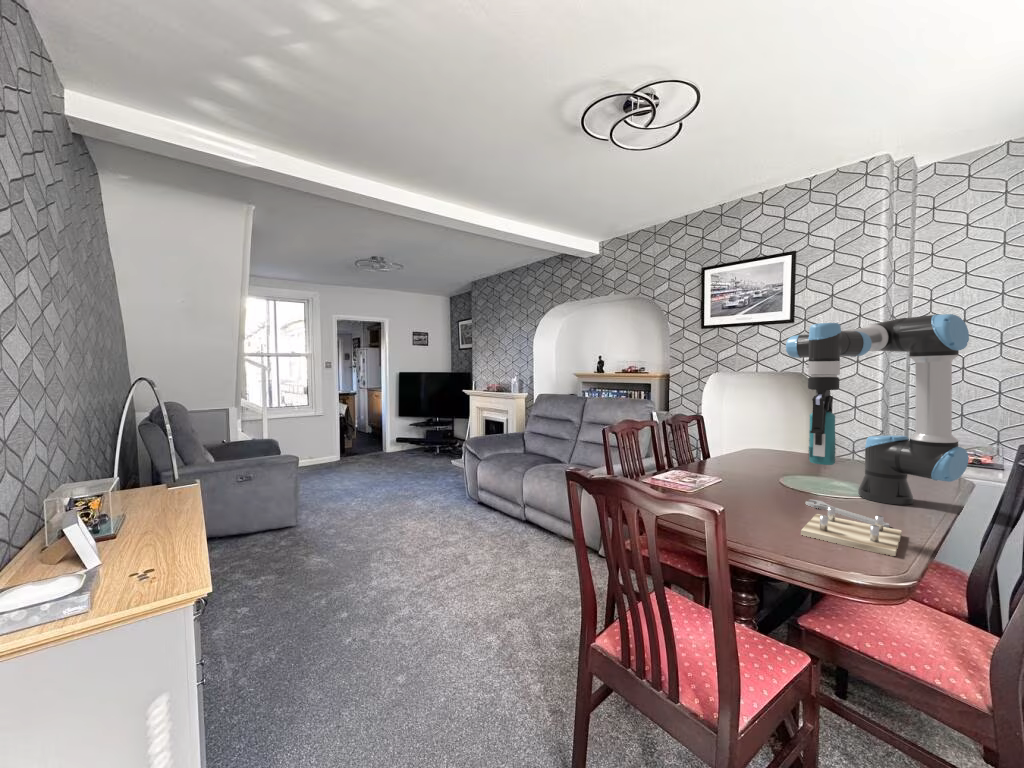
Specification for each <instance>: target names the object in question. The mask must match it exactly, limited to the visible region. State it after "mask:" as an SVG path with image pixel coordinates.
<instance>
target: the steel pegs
mask: <svg viewBox="0 0 1024 768" xmlns="http://www.w3.org/2000/svg"><path fill="white" fill-rule="evenodd" d="M834 507H835V506H833V507H828V511H827V515H825V514H820V530H821V531H828V521H831V522H835V517H836V513H835V508H836V507H835V508H834ZM874 517H875V518H874V519H875V525H872V524H871V525H870V541H872V542H876V543H878V542H879V531H880V532H883V522H885V521H884V519H885V518H884V516H883V515H879V514H877V515H875V516H874Z"/></svg>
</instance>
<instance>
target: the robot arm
mask: <svg viewBox="0 0 1024 768" xmlns="http://www.w3.org/2000/svg"><path fill="white" fill-rule="evenodd" d="M968 328H969V327H968V326H967V324H966V323H965V321H964V320H963V319H962V318H961V317H960V316H958V315H956V314H953V313H948V314H947V313H945V314H930V315H922V316H911V317H902V318H901V317H900V318H896V319H891V320H886V321H883V322H877V323H870V324H867V325H865V326H863V327H860V328H851V329H843V330H842V328H841V324H840V323H838V322H820V323H815V324H811V325H810V326H809V330H808V331H809V333H808V334H798V335H792V336H790V337H789V338H787V340H786V342H785V352H786V353H787V355H788V356H790V357H791V358H797V359H798V358H799V359H804V358H806V359H807V358H808V364H807V365H806V366H805V367H806V369H807V370H808V375H809V377H808V378H807V389H808V390H812V391H814V390H815V391H816V392H815V395H814V396H813V397H812V398H811V400H812V412H813V414H812V431H810V433H814V437H813V456H821V457H825V434H824V433H825V431H824V430H825V416H826V412H831V413H833V403H834V402H833V401H834V395H831V391H838V390H840V378H839V377H838V376H840V374H841V357H851V358H852V357H854V358H856V357H861V356H864V355H866V354H867V353H868V352H895V353H896V352H897V353H898V352H899V353H905V352H909V353H908V357H909V358H910V359H911V360H912V361H914V363H915V375H914V376H915V432H914V434H912V435H910V436H907V435H899V434H898V435H897V434H896V435H895V434H894V435H892V434H891V435H871V436H868V437H867V438H866V440H865V446H864V449H865V450H864V453H865V455H864V476H863V478H862V481H861V482H860V485H859V486H858V491H857V495H858V494H859V495H860V496H862V497H864V498H863V499H865V500H867V501H872V502H876V503H881V504H888V505H900V506H901V505H902V506H905V505H912V504H913V503H914V495H913V492H912V490H911V488H910V485H909V482H908V476H913V477H920V478H925V479H931V480H933V481H941V482H948V483H950V482H955V481H957V480H959V479H960V478H962V476H963V475H964V473H965V472H966V471H967V470H966V469H967V467H968V464H969V458H970V457H969V453H968V451H967V450H966V449H965V448H964V447H961V446H959V440H958V438H956V437H955V436H954V435H953V434H952V429H953V426H952V421H953V419H952V418H953V416H952V415H953V412H952V411H953V407H952V406H953V405H952V402H953V400H952V399H953V394H952V393H953V387H952V386H953V385H952V384H953V377H952V376H953V371H952V370H953V363H952V362H953V360H955V359H956V358H958V357H959V352H960V351H962V350H964V349H966V347H967V346H968V343H969V342H970V333H969V332H970V331H969V329H968ZM830 402H831V408H829V403H830ZM824 407H825V408H824ZM859 495H858V496H859ZM860 496H859V497H860ZM862 497H861V498H862Z"/></svg>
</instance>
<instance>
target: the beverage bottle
mask: <svg viewBox="0 0 1024 768" xmlns="http://www.w3.org/2000/svg"><path fill="white" fill-rule="evenodd" d="M824 408H825V407H824ZM829 408H831V402H830V403H829ZM812 414H813V411H812V412H811V413H809V429H808V433H809V434H808V435H809V438H808V443H809V445H808V460H809V462H810V463H812V464H816V465H823V466H833V465H835V463H836V441H837V439H836V415H835V414H834V413H833V412H832V413H831V412H826V416H825V430H824V431H825V433H824V434H825V457H821V456H813V437H814V433H810V431H812Z"/></svg>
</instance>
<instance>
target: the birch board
mask: <svg viewBox="0 0 1024 768" xmlns="http://www.w3.org/2000/svg"><path fill="white" fill-rule="evenodd" d="M820 515H821V514H819V513H816V514H814V516H812V518H811V519H810V520H809V521H808V522H807V523H806V524H805V526H803V528H802V529H801V530H800V536H801V535H803V536H802V537H806V536H807V538H810V537H811V539H814V538H816V539H815V540H819V539H820V541H823V540H824V541H823V542H827V541H828V543H832V544H836V543H837V544H836V545H841V546H846V547H849V548H853V547H854V549H858V550H862V551H863V550H864V551H867V552H870V553H871V552H872V553H876V554H879V553H880V555H884V554H886V555H885V556H888V555H890V557H892V556H897V553H898V550H897V549H899V546H900V543H901V538H902V534H903V533H902V532H903V531H902V530H901V529H897V528H891V527H889V528H886V527H883V532H880V531H879V542H878V543H876V542H872V541H870V525H872V524H869V523H866V522H862V521H861V522H860V521H857V520H856V521H855V520H850V519H845V518H841V517H836V516H835V522H831V521H828V531H821V530H820ZM899 542H900V543H899Z"/></svg>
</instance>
